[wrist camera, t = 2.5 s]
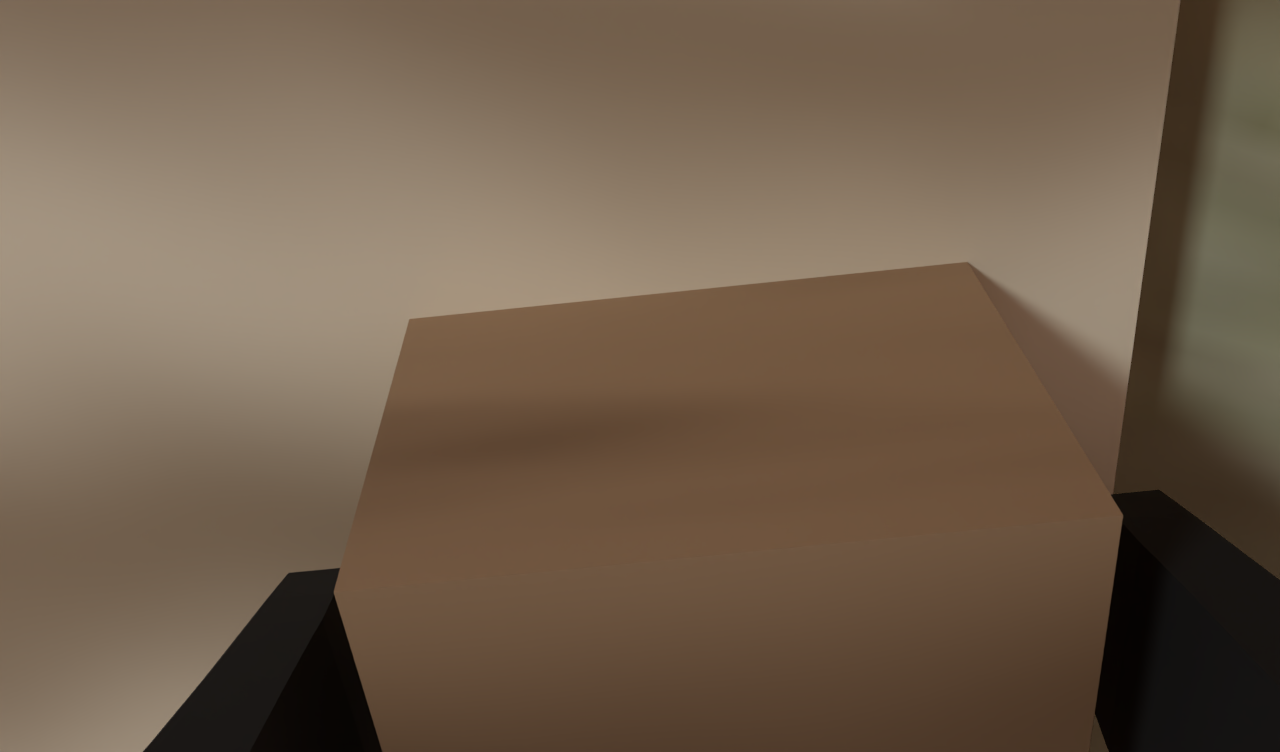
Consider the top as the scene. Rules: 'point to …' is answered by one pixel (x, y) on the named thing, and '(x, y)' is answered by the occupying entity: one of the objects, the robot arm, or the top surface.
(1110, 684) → the robot arm
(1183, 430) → the top surface
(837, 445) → the walnut block
